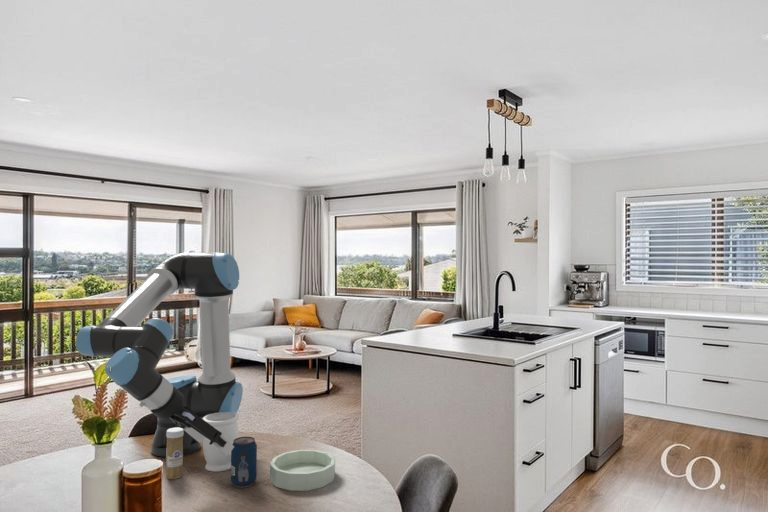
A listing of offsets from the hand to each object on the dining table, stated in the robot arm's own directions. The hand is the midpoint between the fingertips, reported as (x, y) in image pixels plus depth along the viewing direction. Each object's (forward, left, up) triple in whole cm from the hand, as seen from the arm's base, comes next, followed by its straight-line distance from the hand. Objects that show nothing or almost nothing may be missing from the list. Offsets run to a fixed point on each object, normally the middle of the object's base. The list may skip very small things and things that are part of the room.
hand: (216, 444), depth 137 cm
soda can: (-3, +8, -13) cm, 16 cm away
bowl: (+1, +24, -13) cm, 28 cm away
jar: (-18, +5, -13) cm, 23 cm away
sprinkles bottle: (-17, -8, -13) cm, 23 cm away
